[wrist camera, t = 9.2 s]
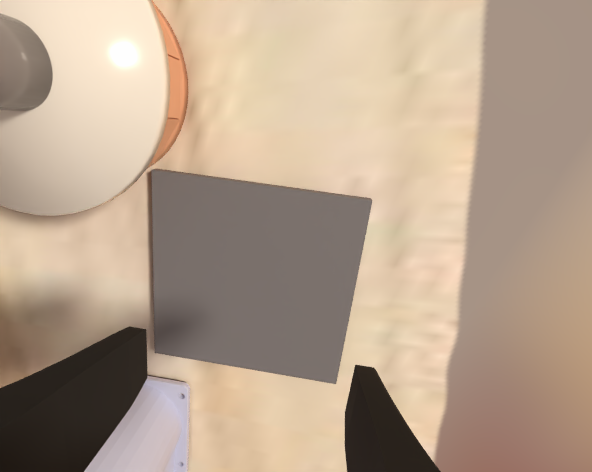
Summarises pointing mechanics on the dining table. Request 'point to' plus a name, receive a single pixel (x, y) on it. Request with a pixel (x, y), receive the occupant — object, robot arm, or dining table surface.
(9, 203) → the lid
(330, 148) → the dining table surface
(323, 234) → the mat
